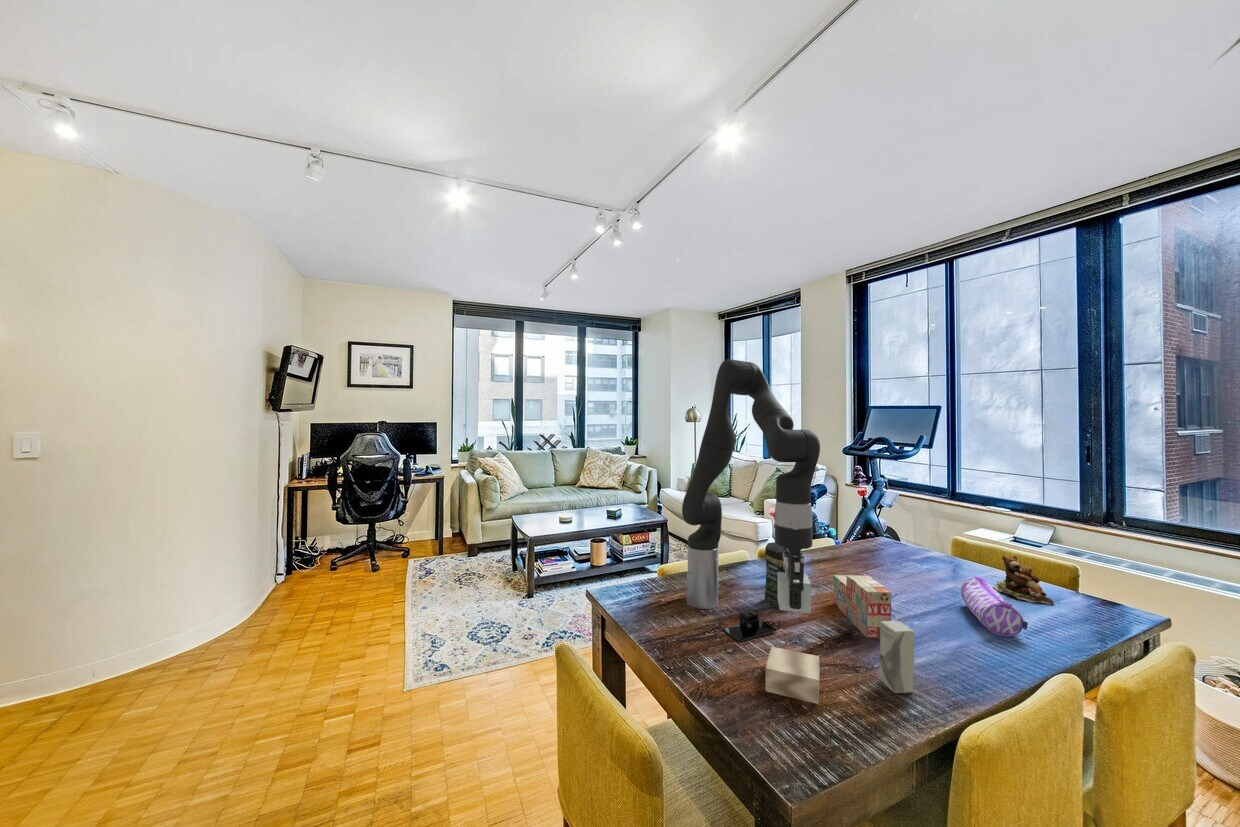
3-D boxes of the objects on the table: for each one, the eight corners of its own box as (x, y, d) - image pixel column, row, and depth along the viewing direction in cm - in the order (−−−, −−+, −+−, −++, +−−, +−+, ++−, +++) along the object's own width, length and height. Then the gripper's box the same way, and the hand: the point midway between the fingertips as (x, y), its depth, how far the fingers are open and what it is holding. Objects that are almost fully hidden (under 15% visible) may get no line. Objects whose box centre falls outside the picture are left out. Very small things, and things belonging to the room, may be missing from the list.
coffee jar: (760, 601, 140) (760, 541, 140) (779, 598, 143) (779, 539, 144) (782, 614, 131) (782, 549, 132) (803, 609, 134) (803, 546, 135)
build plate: (739, 642, 114) (738, 623, 114) (721, 629, 121) (720, 612, 121) (777, 630, 119) (776, 613, 119) (758, 619, 126) (757, 602, 126)
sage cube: (779, 610, 94) (779, 581, 94) (777, 599, 100) (777, 571, 100) (810, 613, 93) (810, 583, 93) (806, 602, 99) (806, 574, 99)
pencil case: (1029, 642, 115) (1028, 605, 116) (984, 636, 119) (984, 599, 119) (992, 609, 136) (992, 577, 136) (955, 604, 139) (955, 573, 140)
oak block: (765, 692, 94) (765, 668, 94) (771, 668, 103) (771, 646, 103) (818, 705, 89) (818, 679, 89) (819, 679, 98) (819, 656, 99)
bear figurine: (1011, 603, 141) (1011, 563, 141) (986, 586, 155) (986, 550, 156) (1065, 608, 137) (1064, 567, 138) (1034, 590, 152) (1034, 553, 152)
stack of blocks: (833, 605, 138) (833, 564, 138) (854, 605, 138) (854, 565, 138) (866, 638, 117) (866, 590, 117) (891, 639, 116) (891, 591, 117)
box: (878, 680, 98) (878, 620, 98) (897, 679, 98) (897, 619, 98) (895, 694, 93) (895, 631, 93) (915, 693, 93) (915, 630, 93)
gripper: (772, 515, 105) (772, 588, 104) (777, 529, 91) (777, 613, 90) (807, 517, 103) (807, 591, 102) (817, 532, 89) (818, 618, 89)
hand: (793, 601), depth 96 cm, fingers closed on sage cube, 6 cm apart
